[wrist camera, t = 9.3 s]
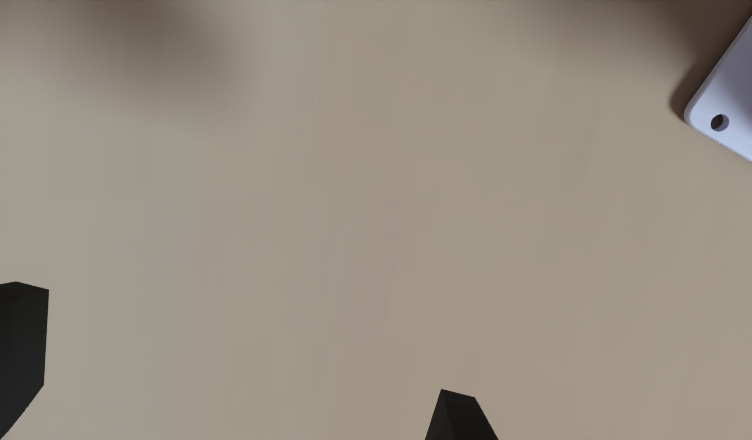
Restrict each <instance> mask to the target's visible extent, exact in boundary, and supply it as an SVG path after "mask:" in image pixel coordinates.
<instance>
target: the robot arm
mask: <svg viewBox="0 0 752 440" xmlns="http://www.w3.org/2000/svg"><path fill="white" fill-rule="evenodd" d="M719 114H721V115H722V116H723V122H722V125H721V126H720V127H718V128H717V129H712V128H711V121H712V118H714V117H715V116H716V115H719ZM684 119H685V122H686V124H687V125H688V126H690V127H691V128H692V129H694V130H696V131H698V132H699V133H701V134H703V135H705V136H706V137H708V138H710V139H711V140H713V141H715V142H717V143H718V144H720V145H722V146H724V147H725V148H727V149H729V150H730V151H732V152H734V153H736V154H737V155H739V156H741V157H743V158H744V159H746V160H748V161H749V162H751V163H752V16H751V17H750V19H749V20H748V21H747V23H746V24H745V25H744V27H743V28H742V30H741V31H740V32H739V34H738V35H737V37H736V38H735V39H734V41H733V42H732V43H731V45H730V46H729V48H728V49H727V50H726V52H725V53H724V55H723V56H722V57H721V59H720V60H719V62H718V63H717V64H716V66H715V67H714V68H713V70H712V71H711V73H710V74H709V75H708V77H707V78H706V80H705V81H704V82H703V84H702V85H701V86H700V88H699V89H698V91H697V92H696V93H695V95H694V96H693V98H692V99H691V100H690V102H689V103H688V105H687V106H686V108H685V111H684ZM48 299H49V290H48V289H44V288H40V287H36V286H32V285H28V284H24V283H20V282H10V283H5V284H0V439H1V438H2V437H3V436H4V435H5V434H6V433H7V432H8V431H9V430H10V428H11V427H12V426H13V425H14V423H15V422H16V421H17V420H18V418H19V417H20V416H21V415H22V413H23V412H24V411H25V409H26V408H27V407H28V405H29V404H30V403H31V401H32V400H33V399H34V397H35V396H36V395H37V393H38V392H39V391H40V389H41V388H42V387H43V385H44V371H45V353H46V335H47V317H48ZM425 440H498V438H497V436H496V434H495V433H494V431H493V429H492V427H491V425H490V424H489V422H488V420H487V418H486V416H485V415H484V413H483V411H482V409H481V408H480V406H479V404H478V402H477V401H476V399H475V397H471V396H467V395H463V394H459V393H455V392H451V391H447V390H443V389H441V391H440V394H439V397H438V401H437V404H436V407H435V410H434V413H433V416H432V419H431V422H430V426H429V429H428V432H427V435H426V438H425Z"/></svg>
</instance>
